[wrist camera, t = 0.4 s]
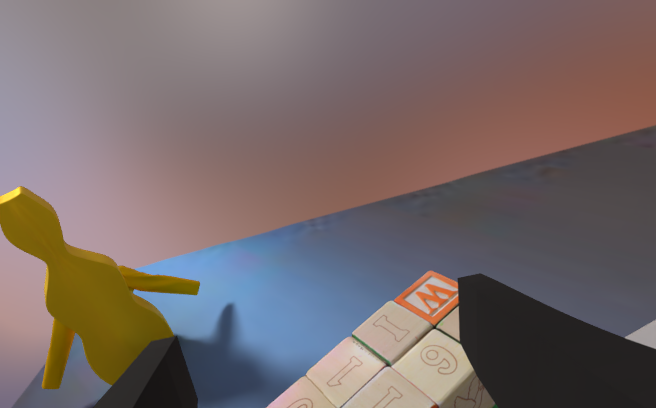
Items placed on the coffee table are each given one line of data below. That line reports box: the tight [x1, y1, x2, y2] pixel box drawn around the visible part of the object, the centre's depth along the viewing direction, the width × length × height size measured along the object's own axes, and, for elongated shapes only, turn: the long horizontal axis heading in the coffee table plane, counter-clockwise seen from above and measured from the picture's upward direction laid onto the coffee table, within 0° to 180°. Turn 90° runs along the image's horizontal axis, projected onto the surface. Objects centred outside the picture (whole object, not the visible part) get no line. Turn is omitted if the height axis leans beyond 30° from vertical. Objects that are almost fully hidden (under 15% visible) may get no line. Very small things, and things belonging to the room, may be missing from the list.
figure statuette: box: [0, 186, 200, 389], centre depth 40 cm, size 18×8×22 cm, turn 126°
